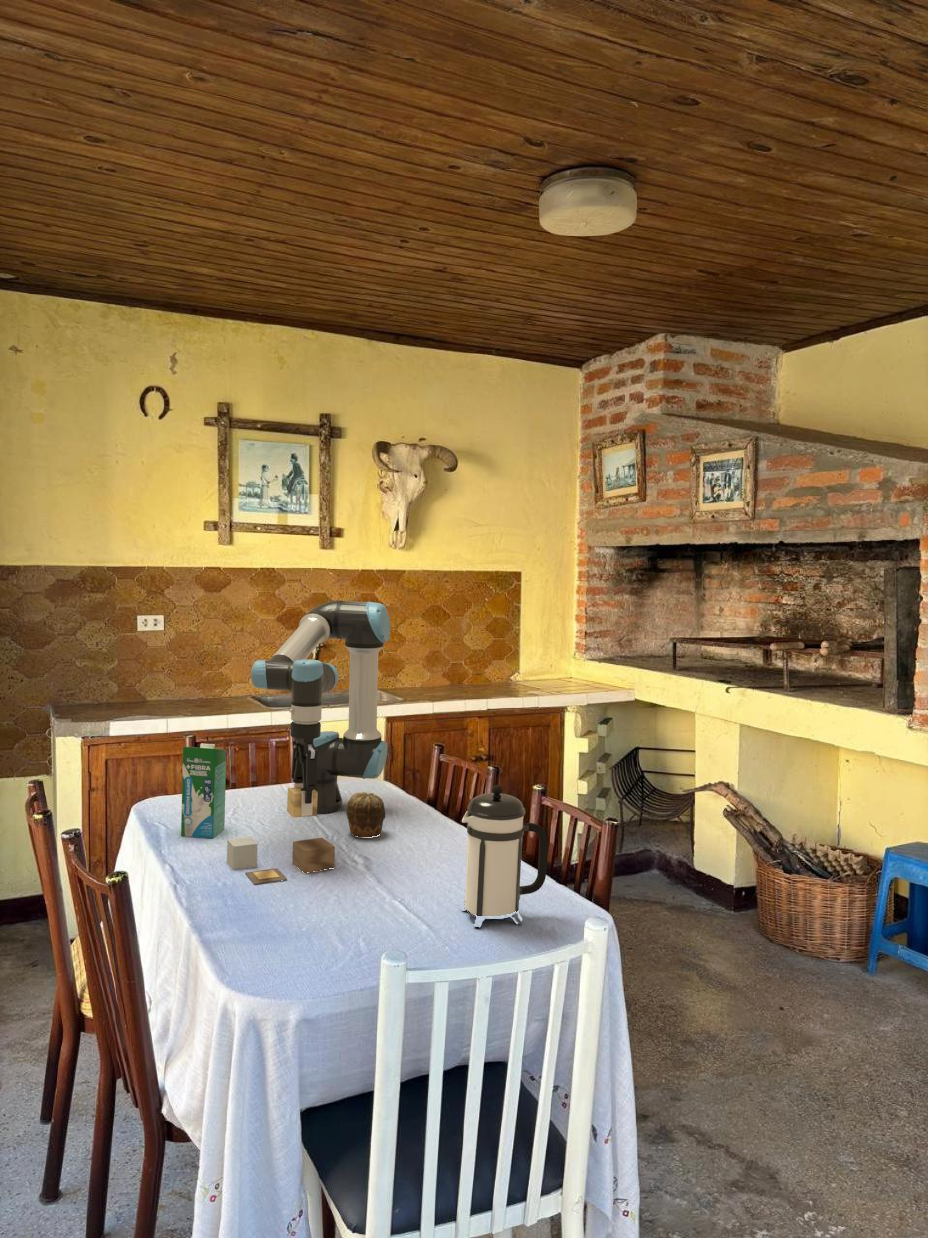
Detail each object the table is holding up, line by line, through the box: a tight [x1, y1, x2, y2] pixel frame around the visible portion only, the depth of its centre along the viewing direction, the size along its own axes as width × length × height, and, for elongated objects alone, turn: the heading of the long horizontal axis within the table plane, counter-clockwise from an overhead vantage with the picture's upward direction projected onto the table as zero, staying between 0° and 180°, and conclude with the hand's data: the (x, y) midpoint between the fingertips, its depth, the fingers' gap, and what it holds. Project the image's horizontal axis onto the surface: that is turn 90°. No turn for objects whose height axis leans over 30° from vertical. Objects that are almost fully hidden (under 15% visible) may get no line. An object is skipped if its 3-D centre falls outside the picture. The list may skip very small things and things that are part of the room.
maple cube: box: [286, 787, 318, 819], centre depth 231 cm, size 6×6×6 cm
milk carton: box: [180, 743, 227, 839], centre depth 253 cm, size 9×9×25 cm
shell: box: [346, 791, 386, 837], centre depth 258 cm, size 11×11×12 cm
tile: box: [245, 867, 288, 886], centre depth 222 cm, size 8×8×1 cm
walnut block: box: [291, 837, 336, 874], centre depth 231 cm, size 8×8×6 cm
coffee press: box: [461, 784, 549, 916], centre depth 203 cm, size 17×16×30 cm
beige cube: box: [226, 836, 258, 871], centre depth 230 cm, size 6×6×6 cm
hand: (302, 811), depth 232 cm, fingers closed on maple cube, 6 cm apart
